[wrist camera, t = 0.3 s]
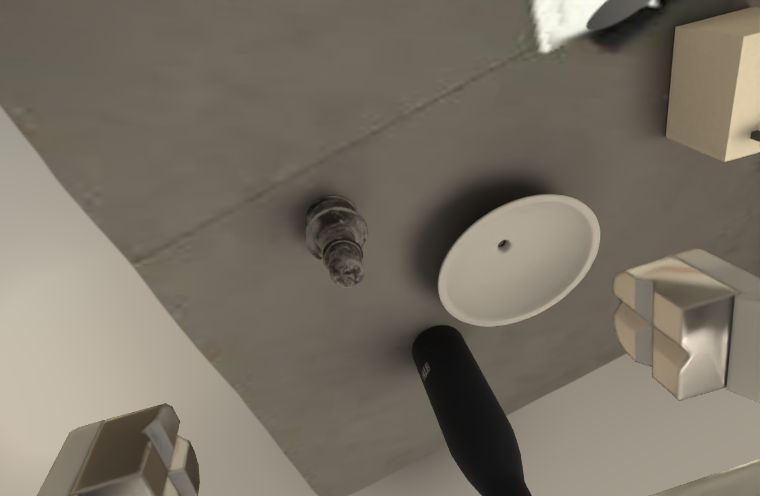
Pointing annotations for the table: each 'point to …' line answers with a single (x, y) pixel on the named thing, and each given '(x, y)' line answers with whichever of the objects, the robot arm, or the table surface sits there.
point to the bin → (717, 85)
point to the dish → (518, 260)
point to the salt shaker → (337, 238)
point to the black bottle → (469, 414)
